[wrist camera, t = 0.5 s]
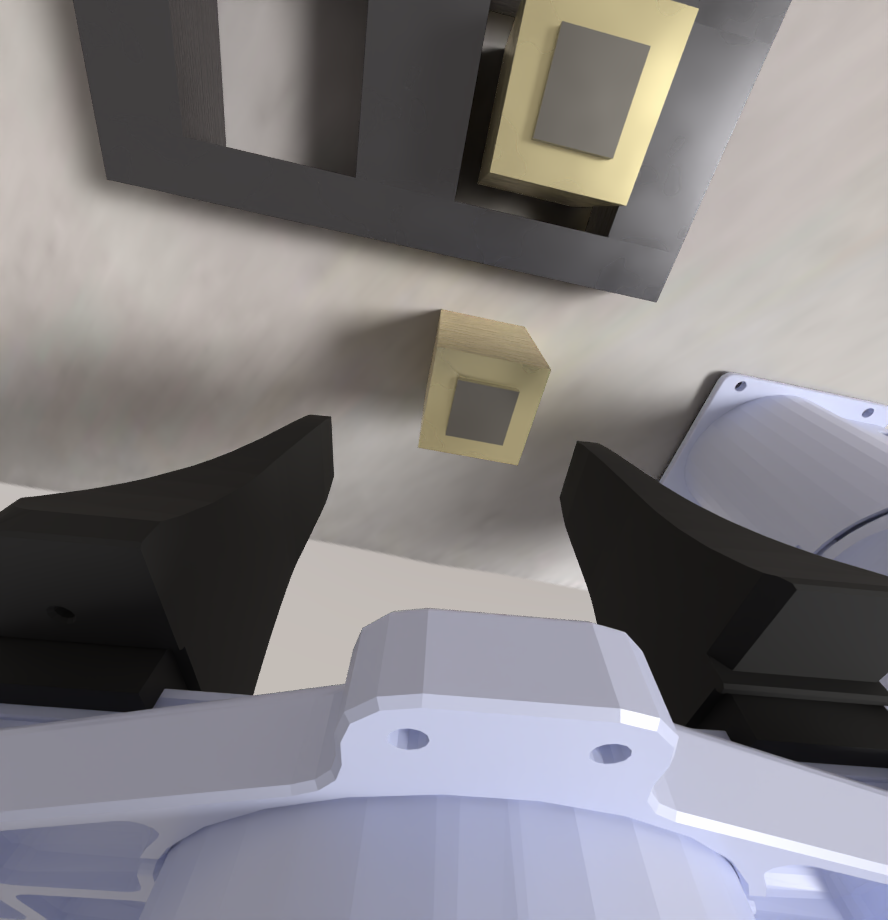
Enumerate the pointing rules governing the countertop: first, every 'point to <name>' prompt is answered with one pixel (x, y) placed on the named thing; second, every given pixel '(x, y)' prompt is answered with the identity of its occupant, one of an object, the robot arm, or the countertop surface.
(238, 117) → the countertop surface
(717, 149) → the rail
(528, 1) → the seated nut
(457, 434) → the block
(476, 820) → the robot arm
